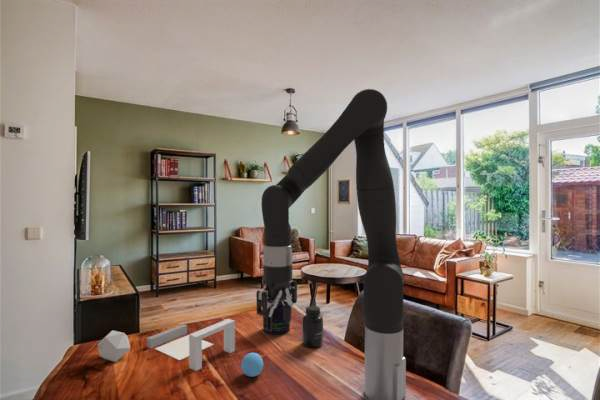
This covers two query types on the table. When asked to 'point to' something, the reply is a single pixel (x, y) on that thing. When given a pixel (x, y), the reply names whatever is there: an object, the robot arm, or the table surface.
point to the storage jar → (278, 321)
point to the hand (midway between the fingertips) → (277, 325)
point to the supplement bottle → (312, 327)
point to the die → (113, 346)
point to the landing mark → (180, 348)
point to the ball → (252, 364)
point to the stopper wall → (166, 336)
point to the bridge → (196, 337)
